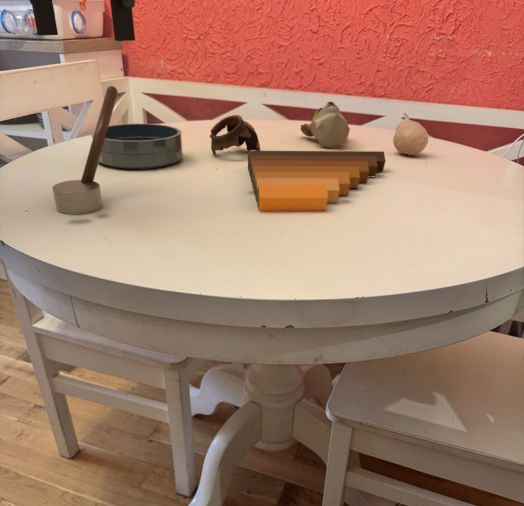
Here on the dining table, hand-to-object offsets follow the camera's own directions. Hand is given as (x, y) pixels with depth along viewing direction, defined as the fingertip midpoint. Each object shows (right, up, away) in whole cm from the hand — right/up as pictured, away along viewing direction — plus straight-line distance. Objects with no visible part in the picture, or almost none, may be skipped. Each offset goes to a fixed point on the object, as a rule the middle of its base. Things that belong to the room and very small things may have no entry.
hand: (85, 38), depth 63 cm
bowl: (-1, -3, +32) cm, 33 cm away
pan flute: (+33, -12, +21) cm, 41 cm away
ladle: (-3, -16, +14) cm, 21 cm away
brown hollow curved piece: (+17, 0, +38) cm, 42 cm away
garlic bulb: (+53, +1, +41) cm, 67 cm away
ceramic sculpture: (+37, +7, +49) cm, 62 cm away
